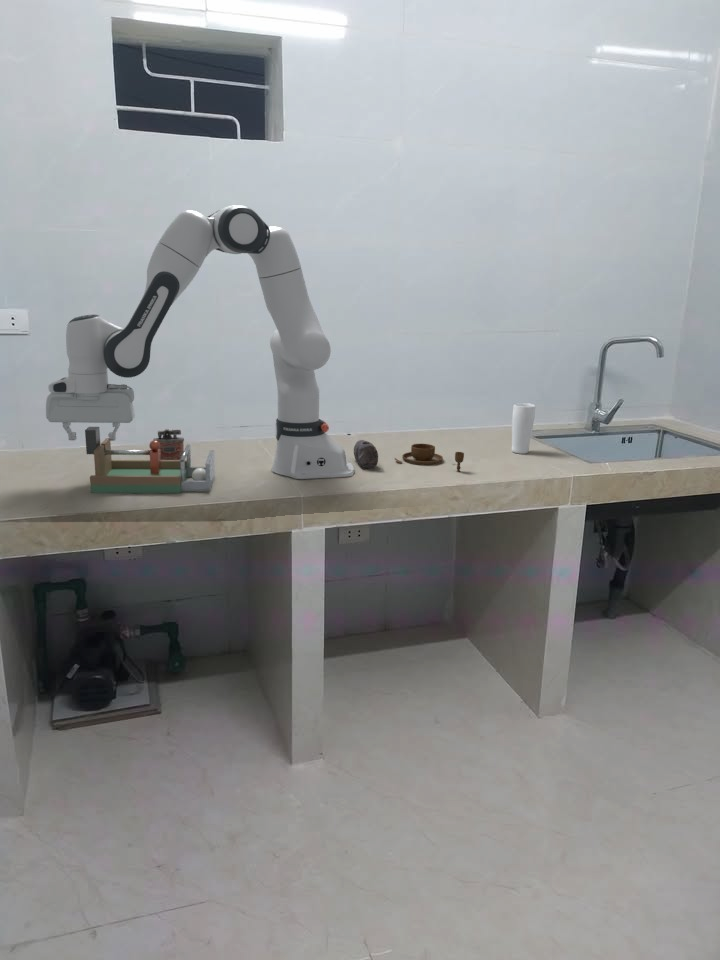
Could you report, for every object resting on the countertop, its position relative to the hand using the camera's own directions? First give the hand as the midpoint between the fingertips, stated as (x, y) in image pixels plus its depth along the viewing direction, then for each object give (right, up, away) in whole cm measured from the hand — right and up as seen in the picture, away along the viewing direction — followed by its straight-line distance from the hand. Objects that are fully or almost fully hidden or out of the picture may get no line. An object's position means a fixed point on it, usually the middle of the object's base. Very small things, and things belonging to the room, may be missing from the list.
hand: (92, 440), depth 182 cm
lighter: (+13, -6, +22) cm, 26 cm away
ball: (+25, -9, +5) cm, 27 cm away
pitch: (+11, -11, +4) cm, 16 cm away
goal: (+25, -11, +6) cm, 28 cm away
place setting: (+85, -6, +33) cm, 91 cm away
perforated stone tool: (+67, -5, +30) cm, 73 cm away
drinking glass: (+116, -1, +50) cm, 126 cm away
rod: (+7, -8, +3) cm, 11 cm away
